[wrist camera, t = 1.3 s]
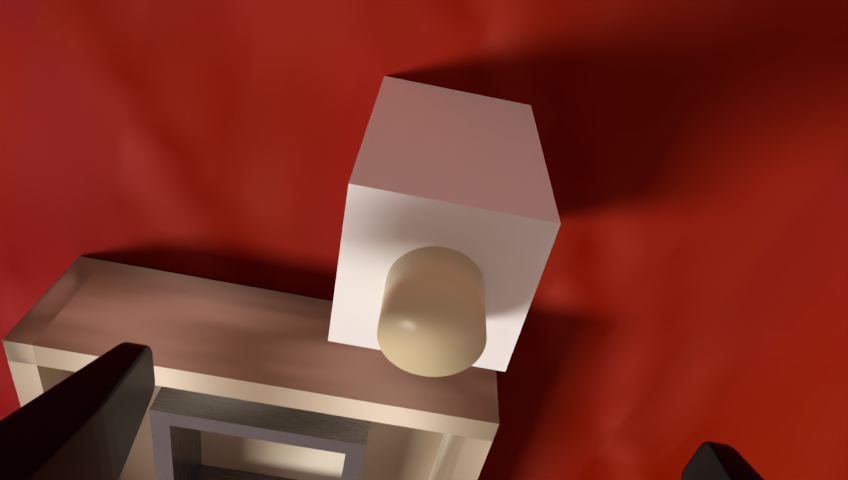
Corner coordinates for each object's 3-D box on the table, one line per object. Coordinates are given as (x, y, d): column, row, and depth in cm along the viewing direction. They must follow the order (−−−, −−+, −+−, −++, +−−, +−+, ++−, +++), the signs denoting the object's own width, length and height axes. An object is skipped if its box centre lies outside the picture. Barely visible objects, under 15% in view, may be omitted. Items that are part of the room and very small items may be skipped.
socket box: (493, 329, 21) (499, 424, 17) (427, 522, 27) (422, 617, 24) (79, 256, 20) (1, 340, 17) (115, 473, 26) (66, 564, 23)
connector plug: (531, 105, 16) (572, 271, 10) (494, 227, 18) (509, 426, 12) (384, 75, 16) (333, 227, 10) (365, 202, 18) (313, 393, 12)
